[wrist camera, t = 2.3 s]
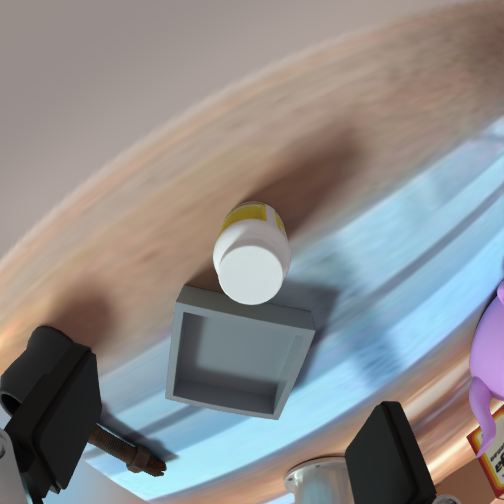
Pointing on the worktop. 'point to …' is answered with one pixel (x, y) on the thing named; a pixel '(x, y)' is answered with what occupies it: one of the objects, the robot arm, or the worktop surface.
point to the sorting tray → (235, 353)
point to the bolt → (127, 453)
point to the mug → (32, 366)
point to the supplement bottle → (252, 253)
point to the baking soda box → (492, 454)
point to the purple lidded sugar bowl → (488, 367)
